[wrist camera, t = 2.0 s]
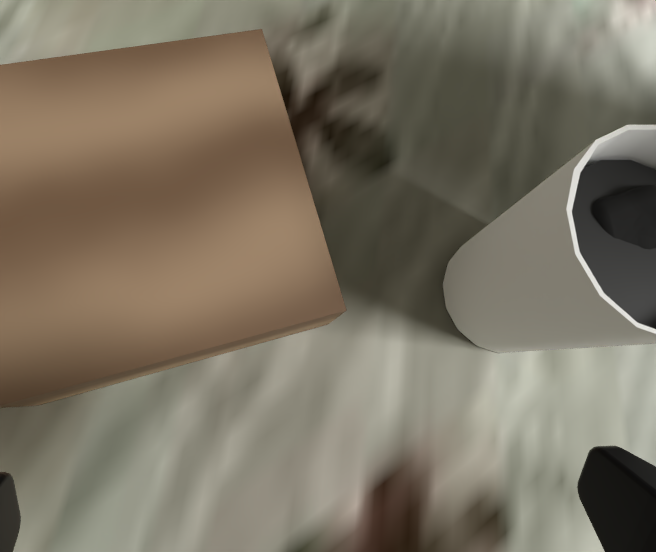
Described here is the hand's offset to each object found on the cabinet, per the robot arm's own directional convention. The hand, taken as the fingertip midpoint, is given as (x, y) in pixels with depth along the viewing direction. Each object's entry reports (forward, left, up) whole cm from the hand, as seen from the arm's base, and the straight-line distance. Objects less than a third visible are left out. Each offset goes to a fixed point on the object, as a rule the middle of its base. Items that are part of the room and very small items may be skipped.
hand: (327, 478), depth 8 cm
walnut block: (+6, -7, -14) cm, 17 cm away
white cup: (-10, -7, -14) cm, 19 cm away
